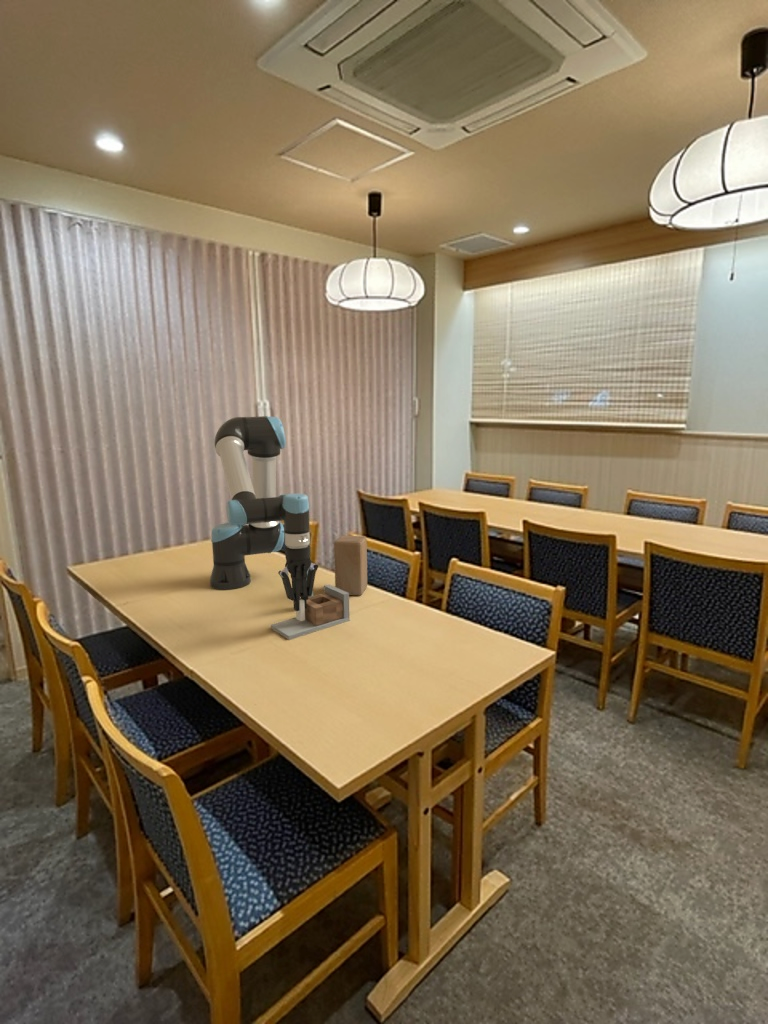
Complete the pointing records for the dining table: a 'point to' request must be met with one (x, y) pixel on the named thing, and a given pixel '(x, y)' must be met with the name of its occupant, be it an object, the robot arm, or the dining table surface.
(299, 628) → the grey l-shaped bracket
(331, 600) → the walnut block
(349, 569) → the block
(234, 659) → the dining table surface
